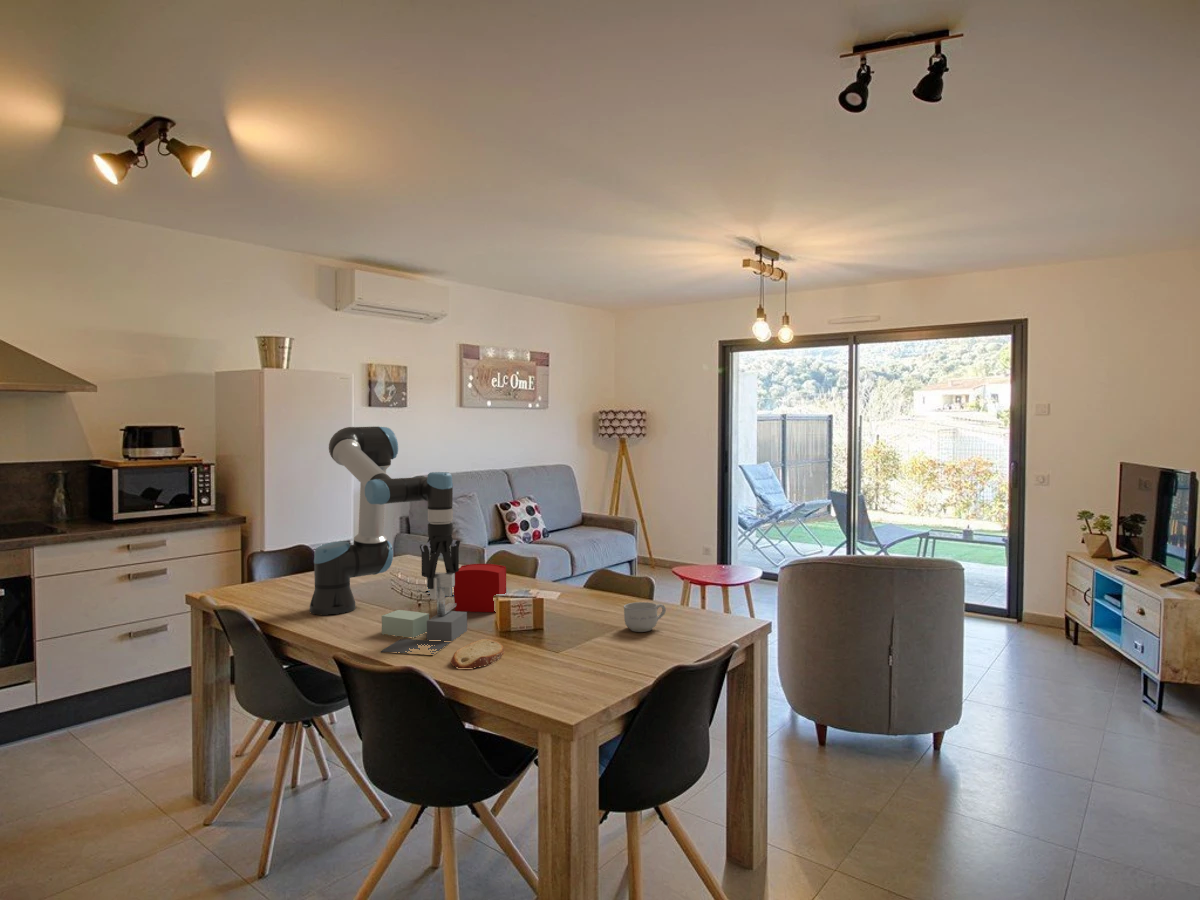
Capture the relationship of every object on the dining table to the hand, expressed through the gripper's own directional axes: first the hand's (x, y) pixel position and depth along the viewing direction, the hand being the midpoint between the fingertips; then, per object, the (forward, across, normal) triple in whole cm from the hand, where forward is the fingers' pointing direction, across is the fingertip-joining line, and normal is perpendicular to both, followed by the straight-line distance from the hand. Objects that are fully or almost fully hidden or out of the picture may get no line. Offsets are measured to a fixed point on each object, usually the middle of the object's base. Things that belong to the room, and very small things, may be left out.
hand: (440, 597), depth 220 cm
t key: (+6, -4, -2) cm, 7 cm away
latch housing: (+12, -1, +2) cm, 12 cm away
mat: (+12, +12, +5) cm, 18 cm away
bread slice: (+12, +6, +25) cm, 28 cm away
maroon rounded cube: (+12, -29, -16) cm, 35 cm away
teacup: (+12, -47, +44) cm, 65 cm away
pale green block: (+12, +6, -10) cm, 17 cm away
